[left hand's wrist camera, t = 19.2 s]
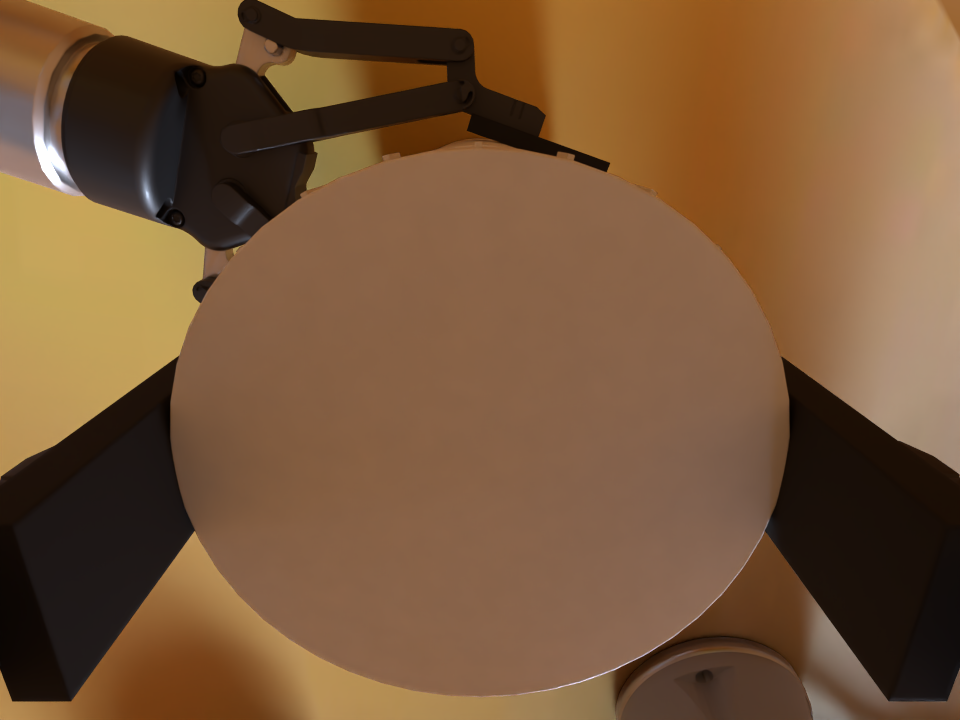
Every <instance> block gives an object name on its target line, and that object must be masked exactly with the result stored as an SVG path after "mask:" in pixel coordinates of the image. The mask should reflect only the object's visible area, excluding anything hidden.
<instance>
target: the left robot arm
mask: <svg viewBox="0 0 960 720" xmlns="http://www.w3.org/2000/svg"><path fill="white" fill-rule="evenodd" d="M179 356H180V355H179ZM179 356H178V357H177V358H175V359H174V360H172V361H171V362H170V363H168V364H167V365H166V366H164V367H163V368H161V369H160V370H159V371H157V372H156V373H155V374H153V375H152V376H150V377H149V378H148V379H146V380H145V381H144V382H142V383H141V384H139V385H138V386H137V387H135V388H134V389H132V390H131V391H130V392H128V393H127V394H126V395H124V396H123V397H121V398H120V399H119V400H117V401H116V402H115V403H113V404H112V405H110V406H109V407H108V408H106V409H105V410H104V411H102V412H101V413H99V414H98V415H97V416H95V417H94V418H93V419H91V420H90V421H88V422H87V423H86V424H84V425H83V426H81V427H80V428H79V429H77V430H76V431H75V432H73V433H72V434H70V435H69V436H68V437H66V438H65V439H64V440H62V441H61V442H59V443H58V444H57V445H55V446H53V447H51V448H49V449H47V450H44V451H42V452H40V453H38V454H36V455H33V456H31V457H29V458H27V459H25V460H24V461H22V462H21V463H20V464H18V465H17V466H15V467H14V468H13V469H11V470H10V471H8V472H7V473H5V474H4V475H3V476H1V480H0V670H1V673H2V675H3V678H4V681H5V683H6V686H7V688H8V691H9V694H10V696H11V699H12V701H72V699H73V698H74V696H75V695H76V694H77V692H78V691H79V690H80V688H81V687H82V685H83V684H84V683H85V681H86V680H87V679H88V677H89V676H90V674H91V673H92V672H93V670H94V669H95V668H96V666H97V665H98V663H99V662H100V661H101V659H102V658H103V656H104V655H105V654H106V652H107V651H108V650H109V648H110V647H111V645H112V644H113V643H114V641H115V640H116V639H117V637H118V636H119V634H120V633H121V632H122V630H123V629H124V627H125V626H126V625H127V623H128V622H129V621H130V619H131V618H132V616H133V615H134V614H135V612H136V611H137V610H138V608H139V607H140V605H141V604H142V603H143V601H144V600H145V599H146V597H147V596H148V594H149V593H150V592H151V590H152V589H153V587H154V586H155V585H156V583H157V582H158V581H159V579H160V578H161V576H162V575H163V574H164V572H165V571H166V570H167V568H168V567H169V565H170V564H171V563H172V561H173V560H174V559H175V557H176V556H177V554H178V553H179V552H180V550H181V549H182V547H183V546H184V545H185V543H186V542H187V541H188V539H189V538H190V536H191V535H192V534H193V532H194V531H195V529H194V527H193V525H192V523H191V520H190V518H189V516H188V514H187V512H186V509H185V507H184V503H183V500H182V496H181V493H180V489H179V485H178V480H177V476H176V471H175V466H174V461H173V455H172V449H171V442H170V402H171V396H172V390H173V383H174V377H175V371H176V365H177V362H178V359H179ZM781 359H782V362H783V367H784V373H785V379H786V385H787V390H788V396H789V419H790V439H789V447H788V453H787V458H786V463H785V469H784V474H783V478H782V482H781V487H780V491H779V496H778V499H777V503H776V506H775V508H774V511H773V513H772V515H771V518H770V520H769V522H768V524H767V527H766V529H765V531H766V533H767V534H768V536H769V537H770V538H771V540H772V541H773V542H774V544H775V545H776V547H777V548H778V549H779V551H780V552H781V554H782V555H783V556H784V558H785V559H786V560H787V562H788V563H789V565H790V566H791V567H792V569H793V570H794V571H795V573H796V574H797V576H798V577H799V578H800V580H801V581H802V583H803V584H804V585H805V587H806V588H807V589H808V591H809V592H810V594H811V595H812V596H813V598H814V599H815V600H816V602H817V603H818V605H819V606H820V607H821V609H822V610H823V611H824V613H825V614H826V616H827V617H828V618H829V620H830V621H831V623H832V624H833V625H834V627H835V628H836V629H837V631H838V632H839V634H840V635H841V636H842V638H843V639H844V640H845V642H846V643H847V645H848V646H849V647H850V649H851V650H852V652H853V653H854V654H855V656H856V657H857V658H858V660H859V661H860V663H861V664H862V665H863V667H864V668H865V669H866V671H867V672H868V674H869V675H870V676H871V678H872V679H873V680H874V682H875V683H876V685H877V686H878V687H879V689H880V690H881V692H882V693H883V694H884V696H885V697H886V698H887V700H888V701H947V700H948V698H949V695H950V692H951V690H952V687H953V684H954V682H955V679H956V677H957V674H958V671H959V669H960V477H959V474H958V473H957V472H955V471H954V470H952V469H951V468H950V467H948V466H947V465H945V464H944V463H942V462H941V461H940V460H938V459H937V458H935V457H934V456H932V455H930V454H927V453H925V452H923V451H921V450H919V449H916V448H914V447H912V446H910V445H908V444H905V443H903V442H901V441H897V440H896V439H895V438H893V437H892V436H890V435H889V434H888V433H886V432H885V431H884V430H882V429H881V428H879V427H878V426H877V425H875V424H874V423H873V422H871V421H870V420H868V419H867V418H866V417H864V416H863V415H862V414H860V413H859V412H857V411H856V410H855V409H853V408H852V407H851V406H849V405H848V404H846V403H845V402H844V401H842V400H841V399H839V398H838V397H837V396H835V395H834V394H833V393H831V392H830V391H828V390H827V389H826V388H824V387H823V386H822V385H820V384H819V383H817V382H816V381H815V380H813V379H812V378H811V377H809V376H808V375H806V374H805V373H804V372H802V371H801V370H800V369H798V368H797V367H795V366H794V365H793V364H791V363H790V362H789V361H787V360H786V359H784V358H783V357H782V356H781ZM616 720H813V717H812V708H811V704H810V701H809V699H808V696H807V693H806V691H805V688H804V686H803V685H802V683H801V681H800V680H799V678H798V676H797V674H796V673H795V671H794V669H793V668H792V666H791V665H790V664H789V663H788V662H787V661H786V660H785V659H784V658H783V657H782V656H781V655H780V654H778V653H777V652H775V651H774V650H772V649H770V648H768V647H766V646H764V645H762V644H759V643H756V642H753V641H749V640H745V639H740V638H731V637H712V638H703V639H697V640H692V641H688V642H684V643H681V644H678V645H675V646H672V647H670V648H668V649H665V650H663V651H661V652H660V653H658V654H656V655H654V656H653V657H651V658H650V659H648V660H647V661H645V662H644V663H643V664H641V665H640V666H639V667H638V668H637V669H636V670H635V671H634V672H633V673H632V674H631V675H630V677H629V678H628V679H627V681H626V682H625V684H624V685H623V687H622V689H621V691H620V694H619V696H618V700H617V704H616Z"/></svg>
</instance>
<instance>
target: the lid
mask: <svg viewBox="0 0 960 720" xmlns="http://www.w3.org/2000/svg"><path fill="white" fill-rule="evenodd" d="M574 157H575V155H573V154H569V153H563V152H558V153H557V157H556V156H551V155H546V154H542V153H537V152H532V151H527V150H522V149H514V148H498V147H483V146H482V141H475V147H461V148H448V149H437V150H432V151H427V152H423V153H418V154H414V155H409V156H404V157H401V156H400V153H399V152H398V153H393V154H387V155H384V156H382V158H383V162H380V163H378V164H375V165H372V166H370V167H367V168H364V169H361V170H359V171H356V172H353V173H351V174H348V175H345V176H343V177H340V178H338V179H336V180H334V181H332V182H330V183H328V184H326V185H324V186H321V187H317V188H314V189H311V190H307V191H305V192H303V193H301V194H300V196H301V197H302V198H301V199H299V200H297V201H296V202H295V203H293V204H292V205H291V206H289V207H288V208H287V209H285V210H284V211H283V212H281V213H280V214H279V215H277V216H276V217H275V218H273V219H272V220H271V221H269V222H268V223H267V224H265V225H264V226H263V227H261V228H260V229H259V230H258V231H257V232H256V233H255V234H254V235H253V236H252V238H251V239H250V240H249V241H248V242H247V243H246V244H245V245H243V246H241V247H239V249H238V250H237V251H236V252H237V253H236V254H235V255H234V256H233V257H232V258H231V259H230V261H229V262H228V263H227V265H226V266H225V267H224V269H223V270H222V272H221V273H220V274H219V276H218V277H217V279H216V280H215V281H214V283H213V284H212V285H211V287H210V288H209V290H208V291H207V293H206V295H205V297H204V299H203V300H202V302H201V304H200V306H199V308H198V310H197V312H196V314H195V316H194V318H193V320H192V322H191V324H190V326H189V328H188V331H187V334H186V337H185V340H184V343H183V346H182V349H181V353H180V356H179V359H178V362H177V365H176V371H175V377H174V383H173V390H172V396H171V402H170V442H171V449H172V455H173V461H174V466H175V471H176V476H177V480H178V485H179V489H180V493H181V496H182V500H183V503H184V507H185V509H186V512H187V514H188V516H189V518H190V520H191V523H192V525H193V527H194V529H195V532H196V534H197V536H198V538H199V540H200V542H201V543H202V545H203V547H204V548H205V550H206V552H207V553H208V555H209V556H210V558H211V560H212V561H213V563H214V565H215V566H216V568H217V569H218V570H219V572H220V573H221V574H222V575H223V577H224V578H225V579H226V580H227V582H228V583H229V584H230V585H231V586H232V588H233V589H234V590H235V591H236V593H237V594H238V595H239V596H240V597H241V598H242V599H243V600H244V601H245V602H246V603H247V604H248V605H249V606H250V607H251V608H252V609H253V610H254V611H255V612H256V613H257V614H258V615H259V616H260V617H262V618H263V619H264V620H265V621H266V622H268V623H269V624H270V625H272V626H273V627H274V628H275V629H277V630H278V631H279V632H281V633H282V634H283V635H285V636H286V637H287V638H288V639H290V640H291V641H293V642H295V643H296V644H298V645H300V646H301V647H303V648H305V649H306V650H308V651H309V652H311V653H313V654H314V655H316V656H318V657H320V658H322V659H324V660H326V661H328V662H330V663H332V664H334V665H337V666H339V667H341V668H343V669H345V670H347V671H349V672H352V673H355V674H358V675H361V676H363V677H366V678H369V679H372V680H375V681H378V682H381V683H384V684H388V685H393V686H397V687H401V688H405V689H409V690H413V691H420V692H427V693H434V694H441V695H449V696H471V697H489V696H509V695H519V694H526V693H533V692H540V691H546V690H551V689H555V688H559V687H563V686H567V685H571V684H575V683H579V682H582V681H585V680H588V679H591V678H593V677H596V676H599V675H602V674H604V673H607V672H610V671H613V670H615V669H617V668H619V667H621V666H623V665H625V664H627V663H629V662H632V661H634V660H636V659H638V658H640V657H642V656H644V655H645V654H647V653H649V652H650V651H652V650H654V649H655V648H657V647H658V646H660V645H662V644H663V643H665V642H666V641H668V640H670V639H671V638H673V637H674V636H675V635H677V634H678V633H679V632H680V631H682V630H683V629H684V628H686V627H687V626H688V625H689V624H691V623H692V622H693V621H694V620H696V619H697V618H698V617H699V616H700V615H701V614H702V613H703V612H704V611H705V610H706V609H707V608H708V607H710V606H711V605H712V604H713V603H714V602H715V601H716V600H717V599H718V598H719V597H720V596H721V595H722V594H723V593H724V591H725V590H726V589H727V587H728V586H729V585H730V584H731V582H732V581H733V580H734V579H735V577H736V576H737V575H738V574H739V572H740V571H741V570H742V569H743V567H744V566H745V564H746V563H747V561H748V559H749V558H750V556H751V554H752V553H753V551H754V549H755V548H756V546H757V544H758V543H759V541H760V540H761V538H762V536H763V534H764V531H765V529H766V527H767V524H768V522H769V520H770V518H771V515H772V513H773V511H774V508H775V506H776V503H777V499H778V496H779V491H780V487H781V482H782V478H783V474H784V469H785V463H786V458H787V453H788V447H789V439H790V419H789V396H788V390H787V385H786V379H785V373H784V367H783V362H782V359H781V356H780V353H779V350H778V347H777V344H776V341H775V338H774V335H773V332H772V329H771V326H770V324H769V322H768V320H767V318H766V316H765V314H764V312H763V311H762V309H761V307H760V305H759V303H758V301H757V299H756V297H755V295H754V293H753V291H752V290H751V288H750V287H749V285H748V284H747V283H746V281H745V280H744V279H743V277H742V276H741V275H740V273H739V272H738V270H737V269H736V268H735V266H734V265H733V264H732V262H731V261H730V260H729V258H728V257H727V256H726V255H725V254H724V253H723V252H722V251H721V250H722V249H721V248H720V246H719V245H717V244H715V243H713V242H712V241H711V240H710V239H709V238H708V237H707V236H706V235H705V234H704V233H703V232H702V231H701V230H700V229H699V228H698V227H697V226H696V225H695V224H694V223H692V222H691V221H690V220H688V219H687V218H685V217H684V216H683V215H681V214H680V213H679V212H677V211H676V210H675V209H673V208H672V207H671V206H669V205H668V204H666V203H665V202H664V201H662V200H661V199H660V198H658V197H656V195H657V192H655V191H654V190H652V189H649V188H645V187H642V186H639V185H635V184H631V183H630V182H628V181H626V180H624V179H622V178H620V177H618V176H615V175H612V174H610V173H607V172H604V171H601V170H598V169H596V168H593V167H590V166H587V165H585V164H582V163H579V162H576V161H573V160H574Z"/></svg>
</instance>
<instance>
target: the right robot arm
mask: <svg viewBox="0 0 960 720" xmlns="http://www.w3.org/2000/svg"><path fill="white" fill-rule="evenodd" d="M238 17H239V21H240V22H241V24H242V25H243V27H245V29H244V33H243V37H242V41H241V45H240V49H239V53H238V57H237V61H236V64H229V65H224V66H211V65H208V64H205V63H202V62H199V61H197V60H194V59H191V58H188V57H185V56H182V55H179V54H177V53H174V52H171V51H168V50H165V49H162V48H160V47H157V46H154V45H151V44H148V43H145V42H142V41H140V40H137V39H134V38H131V37H128V36H122V35H121V36H114V35H113V34H111V33H110V32H109V31H108V30H107V29H105V28H102V27H99V26H96V25H94V24H91V23H88V22H85V21H82V20H80V19H77V18H74V17H71V16H68V15H65V14H63V13H60V12H57V11H54V10H51V9H49V8H46V7H43V6H40V5H37V4H35V3H32V2H29V1H26V0H0V172H2V173H5V174H8V175H11V176H14V177H17V178H20V179H23V180H26V181H29V182H33V183H36V184H39V185H42V186H45V187H48V188H51V189H54V190H57V191H60V192H63V193H66V194H69V195H72V196H86V197H87V198H88V199H90V200H91V201H93V202H95V203H98V204H102V205H105V206H108V207H111V208H114V209H117V210H120V211H124V212H127V213H130V214H133V215H136V216H139V217H142V218H145V219H148V220H152V221H155V222H158V223H161V224H164V225H168V226H171V227H175V228H178V229H181V230H183V231H185V232H187V233H189V234H190V235H191V236H193V237H194V238H195V239H196V240H197V241H198V242H199V243H200V244H202V245H203V246H204V247H205V258H204V271H203V279H202V280H200V281H198V282H197V283H196V284H195V285H194V286H193V295H194V297H195V299H196V300H197V301H198V302H200V303H201V302H202V300H203V299H204V297H205V295H206V293H207V291H208V290H209V288H210V287H211V285H212V284H213V283H214V281H215V280H216V279H217V277H218V276H219V274H220V273H221V272H222V270H223V269H224V267H225V266H226V265H227V263H228V262H229V261H230V259H231V258H232V257H233V256H234V254H233V248H235V247H238V246H241V245H244V244H246V243H247V242H248V241H249V240H250V239H251V238H252V236H253V235H254V234H255V233H256V232H257V231H258V230H259V229H260V228H261V227H263V226H264V225H265V224H267V223H268V222H269V221H271V220H272V219H273V218H275V217H276V216H277V215H279V214H280V213H281V212H283V211H284V210H285V209H287V208H288V207H289V206H291V205H292V204H293V203H295V202H296V201H297V200H299V199H301V198H302V197H301V196H300V194H301V193H303V192H305V191H307V188H306V183H307V181H308V179H309V177H310V175H311V173H312V171H313V170H314V166H315V162H316V157H317V153H316V152H314V145H313V142H315V141H320V140H325V139H330V138H335V137H339V136H343V135H348V134H353V133H358V132H363V131H368V130H373V129H378V128H383V127H388V126H393V125H398V124H403V123H408V122H413V121H418V120H423V119H428V118H433V117H438V116H443V115H448V114H453V113H458V112H465V113H468V114H470V115H472V116H471V119H470V122H469V126H468V129H467V131H469V132H472V133H475V134H478V135H480V136H483V137H486V138H489V139H492V140H494V141H497V142H500V143H503V144H506V145H508V146H511V147H514V148H517V149H522V150H527V151H532V152H537V153H542V154H546V155H551V156H556V157H557V153H558V152H563V153H569V154H573V155H575V157H574V160H573V161H576V162H579V163H582V164H585V165H587V166H590V167H593V168H596V169H598V170H601V171H604V172H607V170H608V167H609V165H610V163H609V162H606V161H603V160H601V159H598V158H595V157H592V156H590V155H587V154H584V153H581V152H578V151H576V150H573V149H570V148H567V147H565V146H562V145H559V144H556V143H554V142H551V141H548V140H545V139H542V138H540V137H538V136H539V133H540V131H541V128H542V125H543V122H544V119H545V116H546V115H545V114H544V113H543V112H541V111H540V110H539V109H538V108H537V107H535V106H533V105H530V104H527V103H524V102H522V101H519V100H516V99H514V98H511V97H508V96H505V95H503V94H500V93H497V92H494V91H492V90H489V89H487V88H485V87H483V86H482V85H481V84H480V83H479V82H478V80H477V78H476V75H475V56H474V42H473V38H472V37H471V35H470V34H469V33H468V32H467V31H466V30H462V29H453V28H437V27H422V26H407V25H392V24H376V23H361V22H346V21H331V20H315V19H300V18H294V17H292V16H290V15H288V14H285V13H283V12H281V11H279V10H277V9H275V8H273V7H270V6H268V5H266V4H264V3H262V2H260V1H258V0H244V1H243V2H242V3H241V4H240V6H239V8H238ZM297 52H299V53H302V54H305V55H309V56H313V57H320V58H334V59H349V60H365V61H381V62H396V63H412V64H427V65H443V66H447V78H448V82H445V83H440V84H435V85H430V86H425V87H420V88H415V89H410V90H405V91H401V92H396V93H391V94H386V95H381V96H376V97H371V98H366V99H361V100H356V101H352V102H347V103H342V104H337V105H332V106H327V107H322V108H314V109H308V110H303V111H298V112H292V110H291V109H290V108H289V106H288V105H287V104H286V103H285V101H284V100H283V99H282V97H281V96H280V95H279V93H278V92H277V91H276V89H275V88H274V87H273V86H272V84H271V83H270V82H269V80H268V79H267V78H266V77H265V76H264V75H265V72H266V70H267V69H268V68H269V67H270V66H272V65H283V66H285V65H289V64H291V63H292V62H293V61H294V59H295V57H296V53H297Z"/></svg>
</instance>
